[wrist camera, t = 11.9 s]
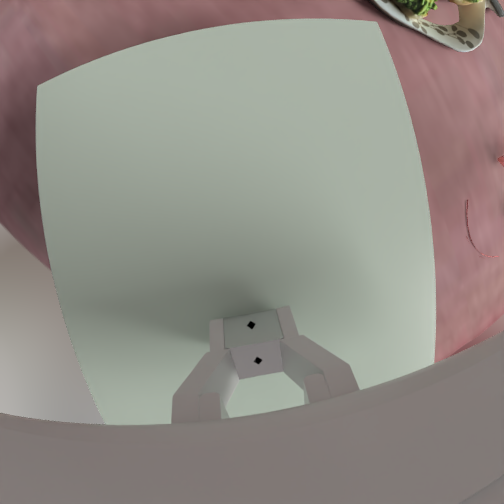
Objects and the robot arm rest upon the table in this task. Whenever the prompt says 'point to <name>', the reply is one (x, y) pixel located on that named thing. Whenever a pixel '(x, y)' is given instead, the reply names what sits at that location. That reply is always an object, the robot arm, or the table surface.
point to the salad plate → (453, 36)
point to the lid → (235, 208)
